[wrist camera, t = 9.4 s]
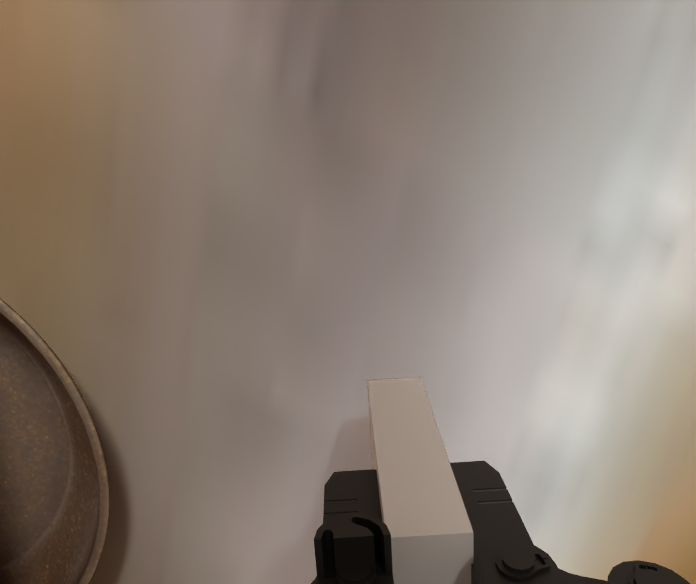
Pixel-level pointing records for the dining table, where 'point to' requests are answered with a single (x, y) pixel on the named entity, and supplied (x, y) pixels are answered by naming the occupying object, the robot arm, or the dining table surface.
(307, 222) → the dining table surface
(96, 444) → the saucer
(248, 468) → the dining table surface
